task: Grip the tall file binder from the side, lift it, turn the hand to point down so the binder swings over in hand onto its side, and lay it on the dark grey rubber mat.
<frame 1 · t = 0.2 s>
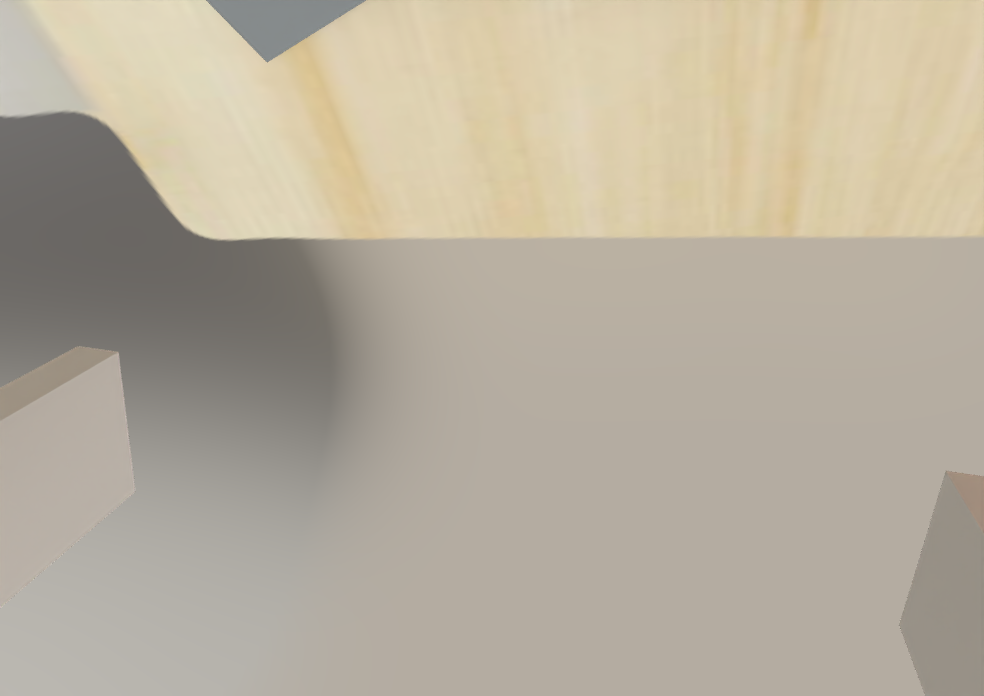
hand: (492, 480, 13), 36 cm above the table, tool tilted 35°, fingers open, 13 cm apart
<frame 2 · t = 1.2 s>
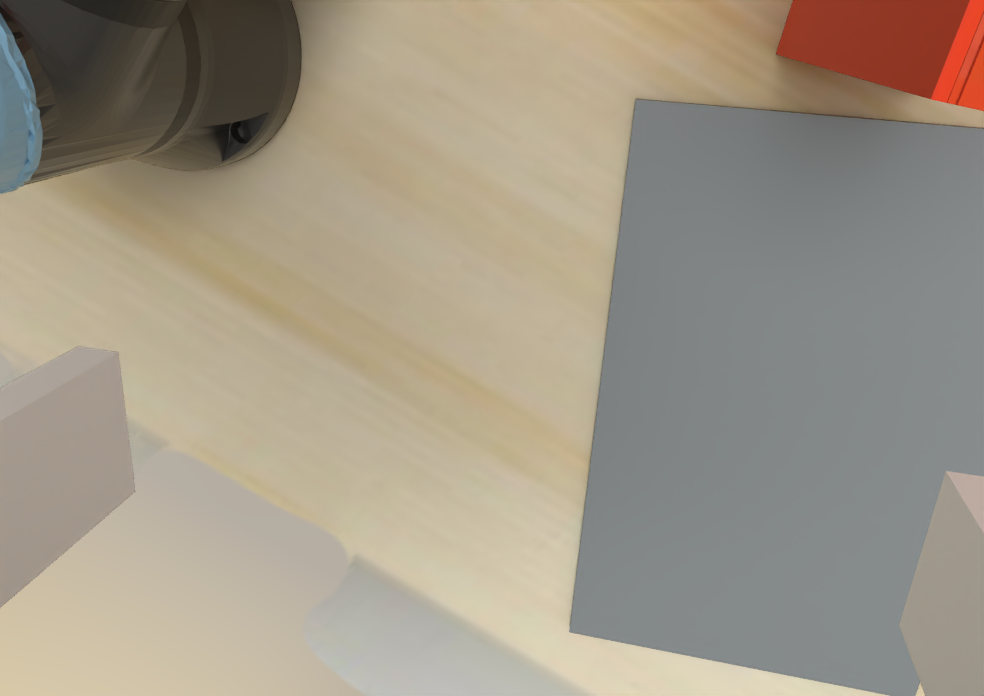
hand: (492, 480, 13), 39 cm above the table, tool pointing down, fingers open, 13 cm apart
mat: (787, 425, 52), on the table
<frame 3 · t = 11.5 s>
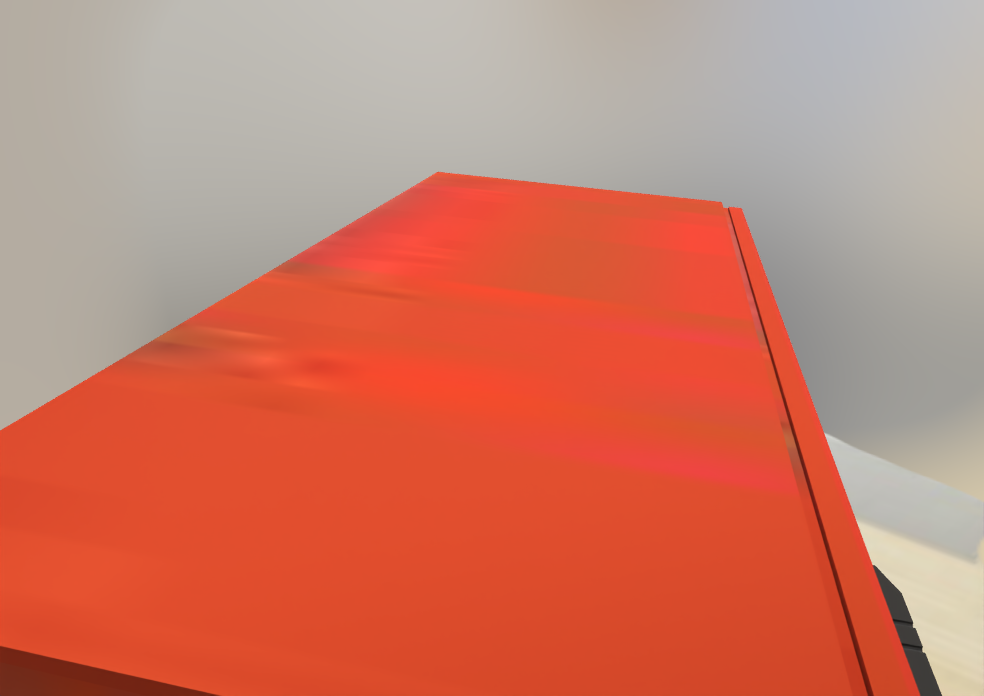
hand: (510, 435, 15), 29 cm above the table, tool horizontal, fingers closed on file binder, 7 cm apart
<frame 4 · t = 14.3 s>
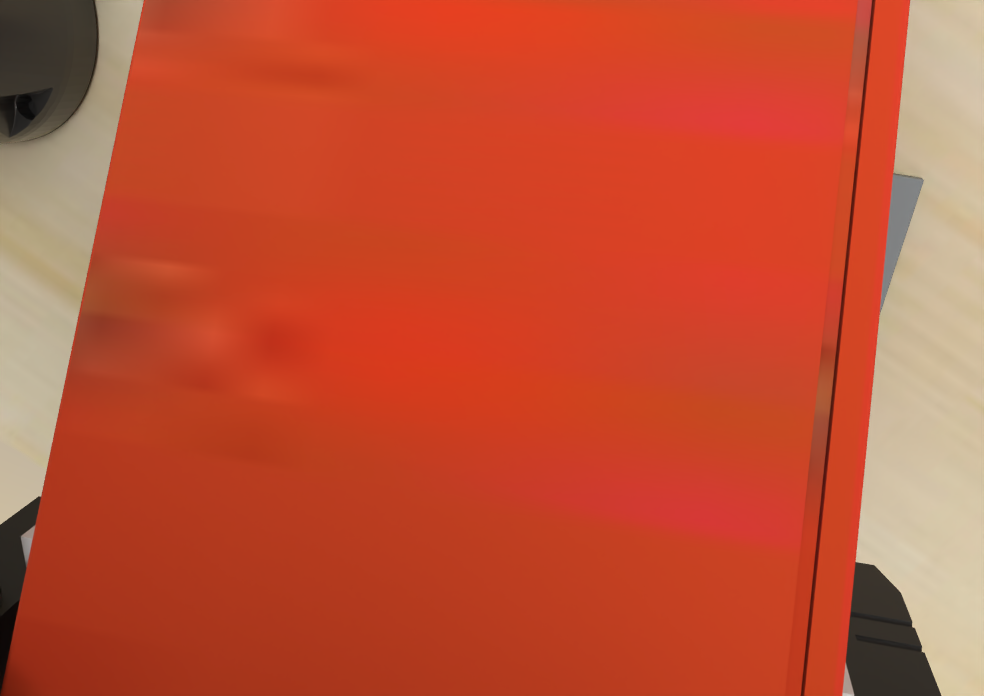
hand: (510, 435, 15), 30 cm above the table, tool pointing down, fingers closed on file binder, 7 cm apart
file binder: (591, 357, 40), point 6 cm above the table, touching gripper
mat: (599, 464, 48), on the table
when the fingers open (10 cm above the table, at t = 19.5 s): file binder moves 6 cm, resting on mat.
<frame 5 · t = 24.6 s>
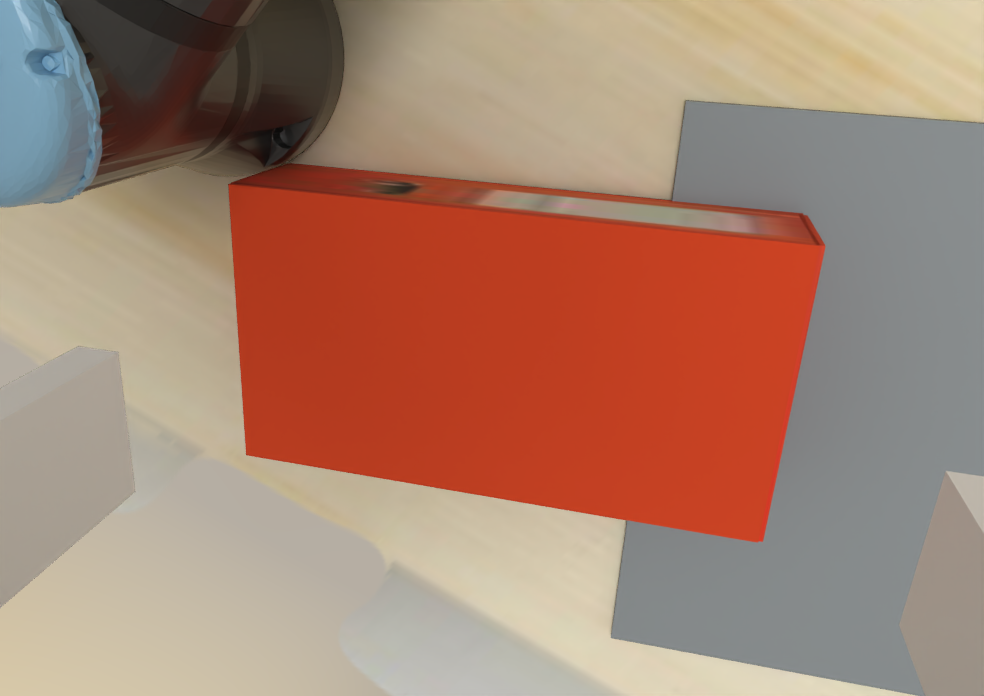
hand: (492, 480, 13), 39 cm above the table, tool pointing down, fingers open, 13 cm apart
file binder: (789, 379, 47), point 5 cm above the table, touching mat
mat: (835, 428, 52), on the table
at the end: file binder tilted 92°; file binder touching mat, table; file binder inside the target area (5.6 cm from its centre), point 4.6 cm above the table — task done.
